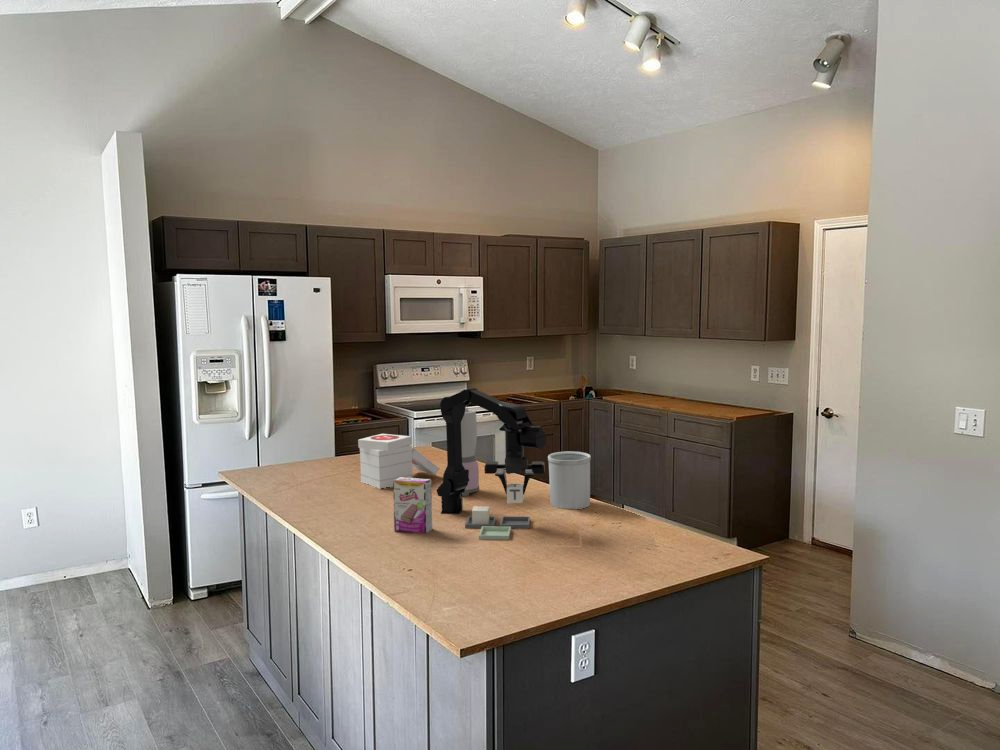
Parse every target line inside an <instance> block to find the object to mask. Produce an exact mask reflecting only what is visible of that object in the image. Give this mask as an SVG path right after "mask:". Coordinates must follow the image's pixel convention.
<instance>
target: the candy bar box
mask: <svg viewBox="0 0 1000 750" xmlns="http://www.w3.org/2000/svg"><path fill="white" fill-rule="evenodd" d="M392 488H393V527H394V528H393V529H394V532H401V531H403V532H404V533H411V532H412V533H419V534H427V533H428V532H430V531H432V530H433V506H432V505H433V503H432V502H433V501H432V499H433V498H432V496H433V495H432V479H431V478H418V477H417V478H416V477H413V478H408V477H399V478H397V479H394V480H393V487H392Z"/></svg>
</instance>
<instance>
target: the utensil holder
mask: <svg viewBox="0 0 1000 750" xmlns="http://www.w3.org/2000/svg"><path fill="white" fill-rule="evenodd" d="M591 459H592V457H591V454H589V453H587V452H582V451H573V450H572V451H569V450H568V451H558V452H552V453H550V454H548V456H547V461H548V476H549V481H548V482H549V499H550V501H549V502H550V506H551V505H552V506H553V507H552V506H551V507H552V508H556V509H563V510H577V509H579V510H583V508H584V509H586V507H587V508H588V507H590V505H591Z"/></svg>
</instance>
